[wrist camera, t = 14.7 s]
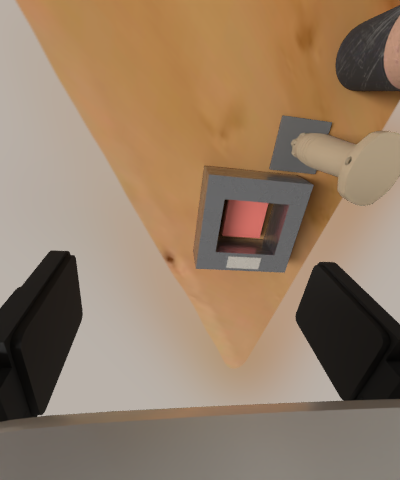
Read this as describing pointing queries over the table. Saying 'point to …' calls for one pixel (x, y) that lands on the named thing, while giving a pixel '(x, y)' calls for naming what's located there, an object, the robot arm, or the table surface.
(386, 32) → the travel mug
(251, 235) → the button
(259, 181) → the grey shallow box
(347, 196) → the handle
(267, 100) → the table surface
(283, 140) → the mat
